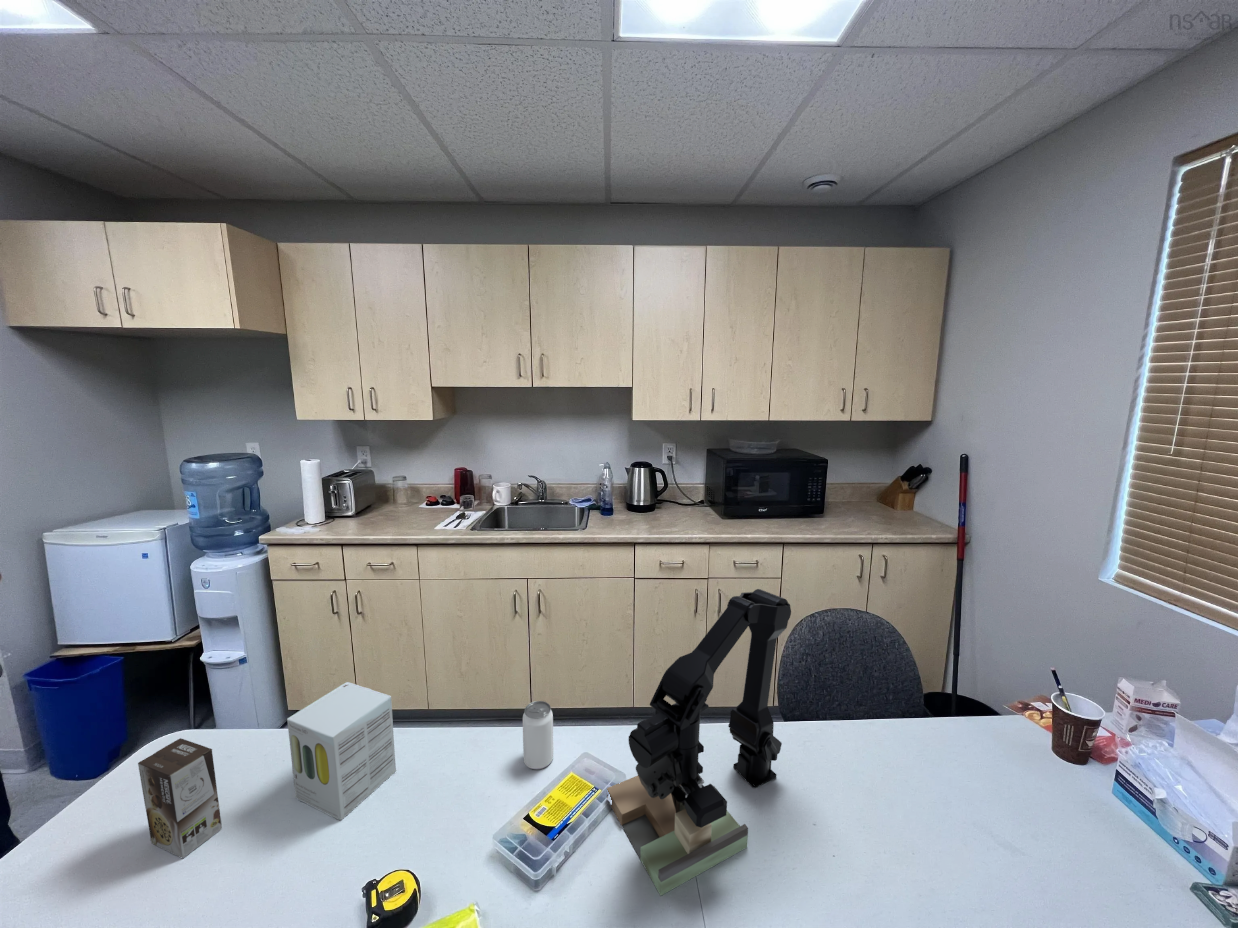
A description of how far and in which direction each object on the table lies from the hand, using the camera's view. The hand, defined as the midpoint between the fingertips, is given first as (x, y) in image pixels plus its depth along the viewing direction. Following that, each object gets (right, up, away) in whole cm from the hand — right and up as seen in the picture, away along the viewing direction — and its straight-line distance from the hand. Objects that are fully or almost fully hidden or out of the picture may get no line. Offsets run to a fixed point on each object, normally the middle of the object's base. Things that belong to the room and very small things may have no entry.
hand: (680, 814), depth 84 cm
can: (-29, -1, +17) cm, 34 cm away
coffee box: (-89, -3, -1) cm, 89 cm away
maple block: (+2, -2, -3) cm, 4 cm away
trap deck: (-1, -3, +3) cm, 4 cm away
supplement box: (-67, -2, +11) cm, 68 cm away
